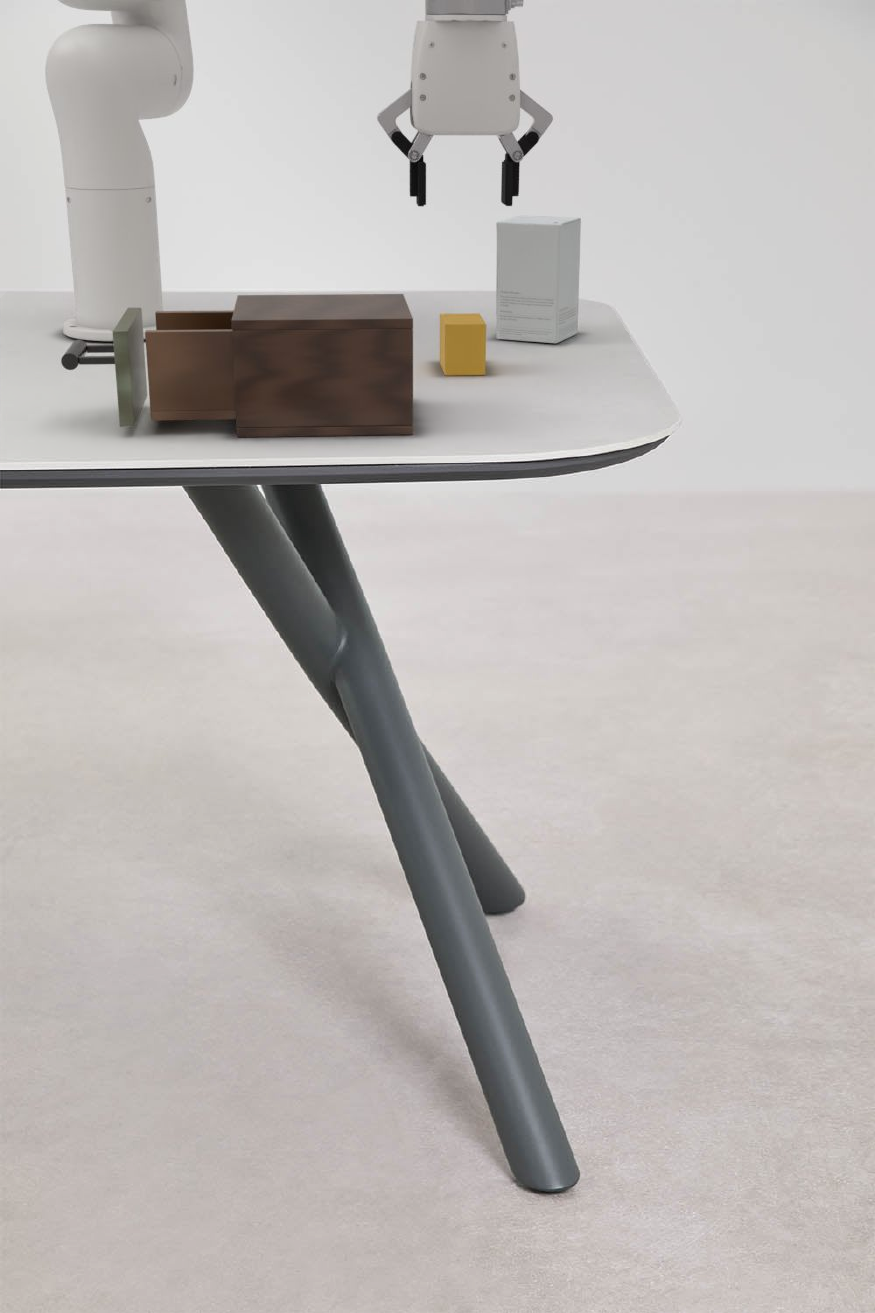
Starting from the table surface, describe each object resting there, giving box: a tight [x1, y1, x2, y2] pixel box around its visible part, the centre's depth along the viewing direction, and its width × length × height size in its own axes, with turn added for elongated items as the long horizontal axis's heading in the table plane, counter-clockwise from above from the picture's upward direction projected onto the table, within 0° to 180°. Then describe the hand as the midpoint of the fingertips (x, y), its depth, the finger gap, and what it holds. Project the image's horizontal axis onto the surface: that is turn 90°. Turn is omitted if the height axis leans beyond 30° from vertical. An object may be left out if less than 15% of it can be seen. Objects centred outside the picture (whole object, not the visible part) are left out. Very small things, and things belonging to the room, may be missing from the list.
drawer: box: [60, 308, 236, 428], centre depth 127 cm, size 18×11×8 cm, turn 95°
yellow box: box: [439, 312, 487, 377], centre depth 149 cm, size 6×4×5 cm, turn 5°
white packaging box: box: [495, 214, 582, 344], centre depth 164 cm, size 7×7×13 cm
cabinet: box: [231, 293, 414, 438], centre depth 128 cm, size 15×13×10 cm
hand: (463, 203), depth 143 cm, fingers open, 7 cm apart
